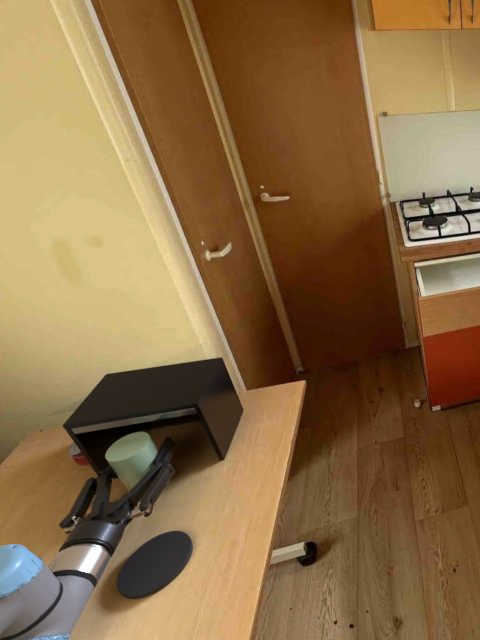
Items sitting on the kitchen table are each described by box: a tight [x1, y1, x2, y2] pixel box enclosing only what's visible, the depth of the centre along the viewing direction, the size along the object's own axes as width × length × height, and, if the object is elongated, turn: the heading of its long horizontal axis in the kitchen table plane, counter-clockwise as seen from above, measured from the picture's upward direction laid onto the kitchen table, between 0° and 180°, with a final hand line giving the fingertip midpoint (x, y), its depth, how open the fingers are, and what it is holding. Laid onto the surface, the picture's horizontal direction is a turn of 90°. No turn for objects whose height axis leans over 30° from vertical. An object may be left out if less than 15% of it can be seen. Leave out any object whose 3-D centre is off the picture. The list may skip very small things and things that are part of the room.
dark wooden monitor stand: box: [62, 356, 245, 477], centre depth 97 cm, size 15×24×18 cm, turn 104°
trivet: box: [116, 530, 194, 600], centre depth 78 cm, size 11×11×1 cm
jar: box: [105, 431, 171, 500], centre depth 87 cm, size 7×7×12 cm
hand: (150, 444), depth 91 cm, fingers closed on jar, 7 cm apart
